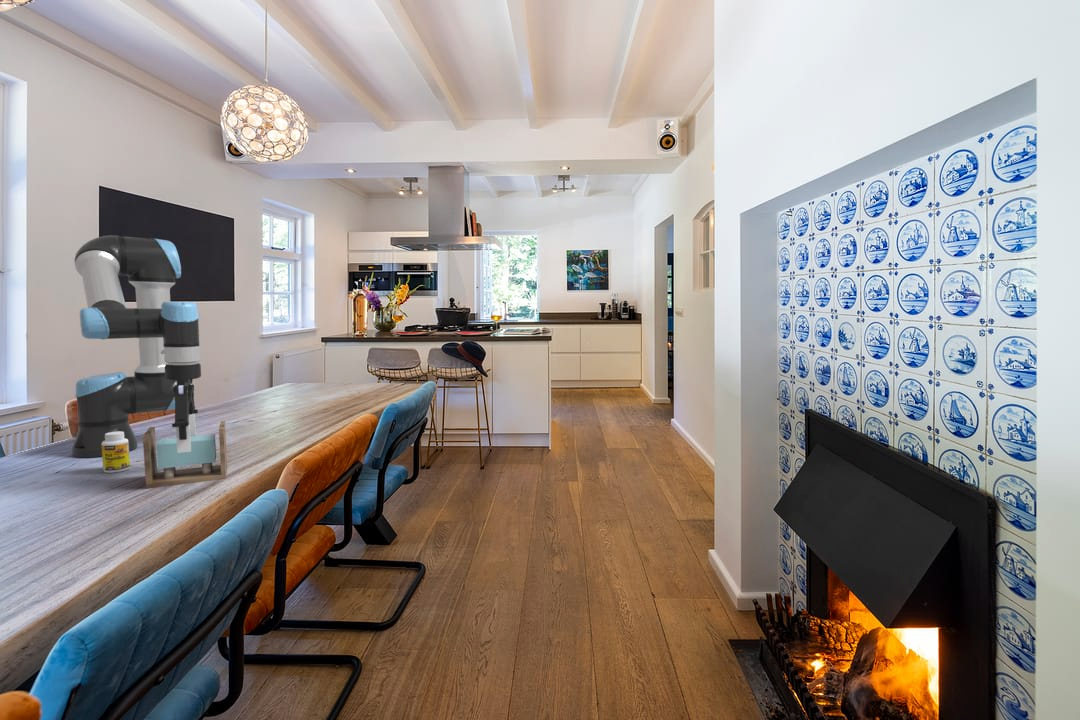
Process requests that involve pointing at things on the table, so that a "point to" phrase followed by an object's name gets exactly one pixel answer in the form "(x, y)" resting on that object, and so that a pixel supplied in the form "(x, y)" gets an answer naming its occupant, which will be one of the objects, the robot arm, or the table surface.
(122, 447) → the supplement bottle
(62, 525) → the table surface
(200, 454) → the shelf board
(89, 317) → the robot arm
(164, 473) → the peg bracket
